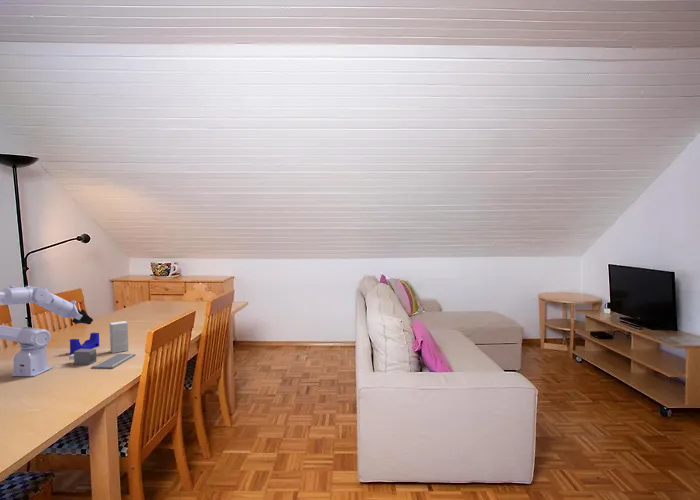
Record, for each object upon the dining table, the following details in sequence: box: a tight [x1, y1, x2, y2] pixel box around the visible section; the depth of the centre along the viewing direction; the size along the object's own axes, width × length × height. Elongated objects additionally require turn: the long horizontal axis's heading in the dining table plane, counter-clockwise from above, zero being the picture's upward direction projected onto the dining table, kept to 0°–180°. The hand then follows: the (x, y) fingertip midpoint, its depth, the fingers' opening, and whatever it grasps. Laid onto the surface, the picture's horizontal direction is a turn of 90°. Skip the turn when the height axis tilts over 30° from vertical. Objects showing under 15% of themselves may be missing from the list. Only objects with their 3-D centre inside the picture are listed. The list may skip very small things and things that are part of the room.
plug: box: [68, 348, 97, 366], centre depth 161 cm, size 4×8×5 cm, turn 89°
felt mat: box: [90, 353, 136, 370], centre depth 163 cm, size 16×8×1 cm, turn 179°
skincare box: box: [109, 320, 129, 354], centre depth 177 cm, size 6×4×12 cm
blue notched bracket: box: [69, 332, 100, 355], centre depth 178 cm, size 12×4×6 cm, turn 169°
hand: (86, 318), depth 170 cm, fingers open, 7 cm apart
